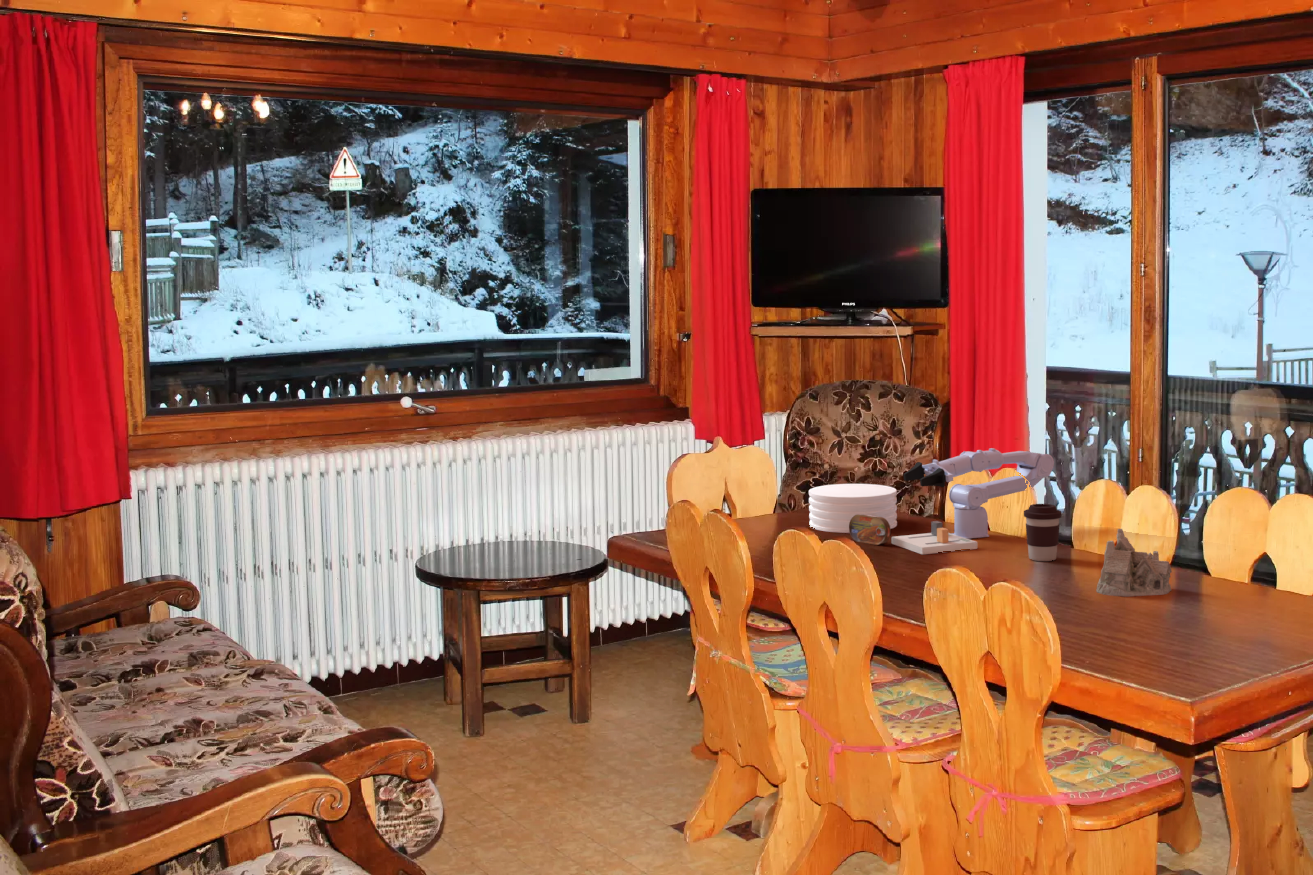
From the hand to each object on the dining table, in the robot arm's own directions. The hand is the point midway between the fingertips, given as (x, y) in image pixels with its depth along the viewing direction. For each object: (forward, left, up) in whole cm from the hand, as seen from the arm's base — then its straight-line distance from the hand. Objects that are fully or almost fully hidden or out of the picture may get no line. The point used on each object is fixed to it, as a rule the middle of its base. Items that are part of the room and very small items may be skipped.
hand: (912, 480), depth 376 cm
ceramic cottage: (-19, +74, -20) cm, 79 cm away
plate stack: (+1, -37, -20) cm, 42 cm away
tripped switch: (-4, +10, -17) cm, 20 cm away
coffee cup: (-21, +34, -19) cm, 45 cm away
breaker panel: (-4, +5, -19) cm, 20 cm away
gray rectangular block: (-8, 0, -17) cm, 19 cm away
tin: (+10, -8, -20) cm, 23 cm away
